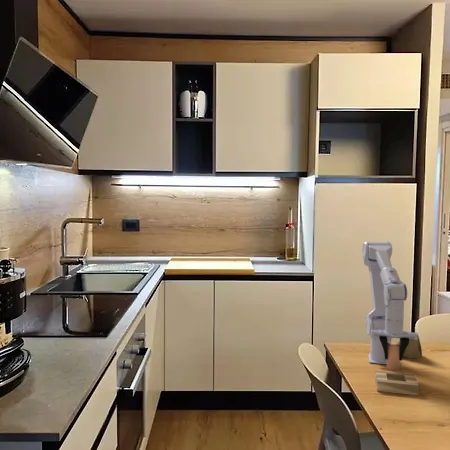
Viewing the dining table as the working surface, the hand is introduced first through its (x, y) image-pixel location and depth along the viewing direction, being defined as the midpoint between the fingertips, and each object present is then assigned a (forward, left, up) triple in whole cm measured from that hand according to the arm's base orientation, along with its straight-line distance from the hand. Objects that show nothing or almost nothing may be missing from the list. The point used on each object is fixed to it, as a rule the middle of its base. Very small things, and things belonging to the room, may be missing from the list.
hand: (393, 359), depth 160 cm
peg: (0, 0, -3) cm, 3 cm away
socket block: (+10, 0, -6) cm, 12 cm away
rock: (-22, +7, -6) cm, 24 cm away
